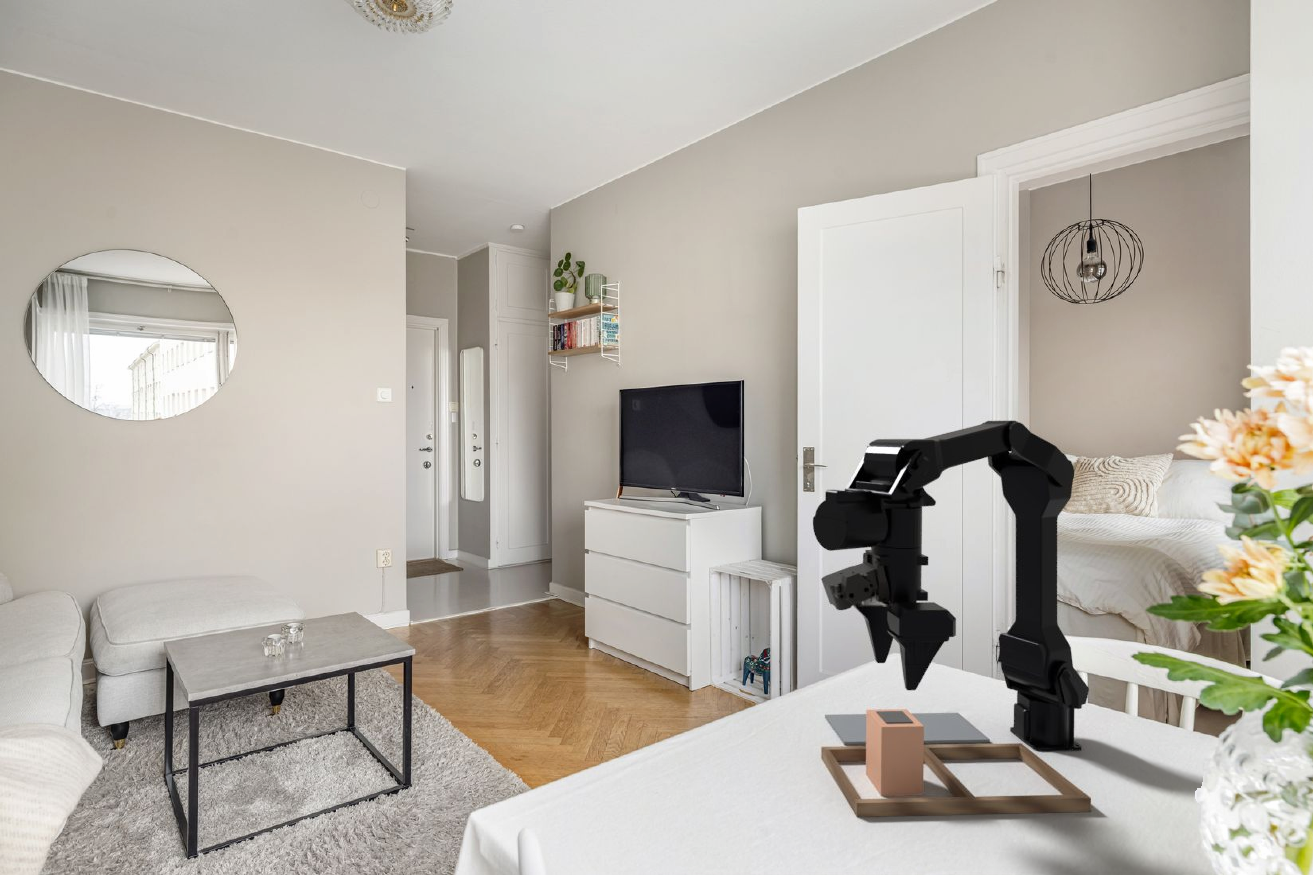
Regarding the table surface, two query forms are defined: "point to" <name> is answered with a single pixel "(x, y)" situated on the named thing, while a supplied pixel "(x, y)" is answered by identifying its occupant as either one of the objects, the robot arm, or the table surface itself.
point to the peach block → (894, 752)
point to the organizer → (959, 784)
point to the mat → (935, 724)
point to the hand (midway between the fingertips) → (894, 675)
